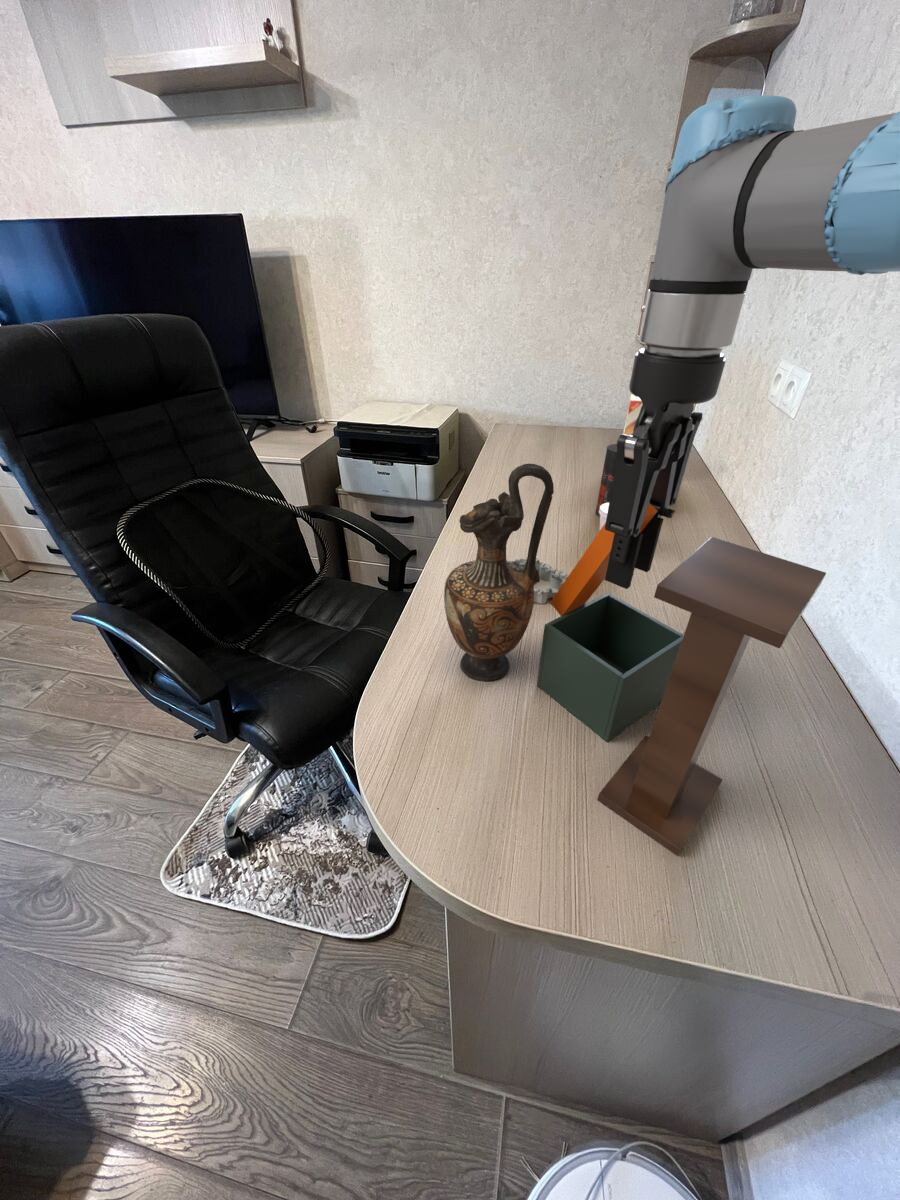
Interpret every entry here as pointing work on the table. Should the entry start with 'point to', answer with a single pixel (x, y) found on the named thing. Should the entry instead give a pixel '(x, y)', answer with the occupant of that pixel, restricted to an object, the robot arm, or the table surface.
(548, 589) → the egg carton
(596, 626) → the trash bin
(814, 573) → the stand
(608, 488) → the deodorant
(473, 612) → the vase
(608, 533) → the block
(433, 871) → the table surface
